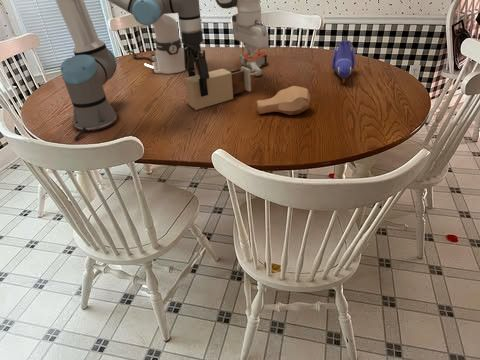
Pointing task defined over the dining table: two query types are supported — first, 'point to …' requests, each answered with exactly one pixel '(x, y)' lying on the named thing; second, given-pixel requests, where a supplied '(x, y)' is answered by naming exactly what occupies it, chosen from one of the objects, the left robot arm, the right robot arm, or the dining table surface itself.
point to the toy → (343, 59)
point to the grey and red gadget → (254, 61)
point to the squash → (286, 101)
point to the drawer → (242, 79)
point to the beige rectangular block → (210, 89)
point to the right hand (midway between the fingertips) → (250, 55)
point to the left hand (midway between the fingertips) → (199, 91)
